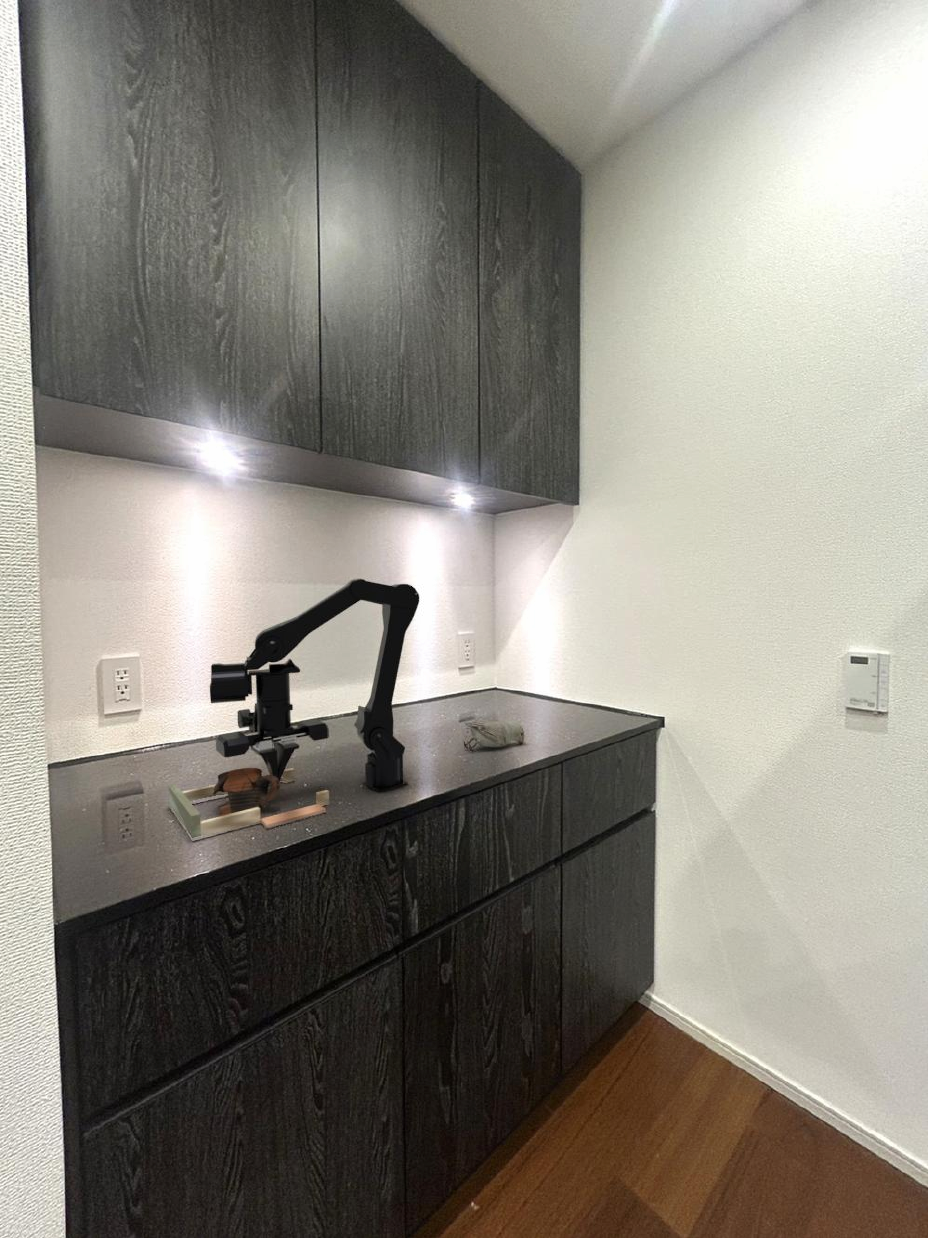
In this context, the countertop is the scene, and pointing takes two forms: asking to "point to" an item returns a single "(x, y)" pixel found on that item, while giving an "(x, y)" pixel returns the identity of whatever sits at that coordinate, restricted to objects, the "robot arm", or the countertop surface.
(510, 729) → the decorative bird
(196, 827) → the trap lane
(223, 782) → the pottery mug
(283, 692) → the robot arm
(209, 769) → the countertop surface
